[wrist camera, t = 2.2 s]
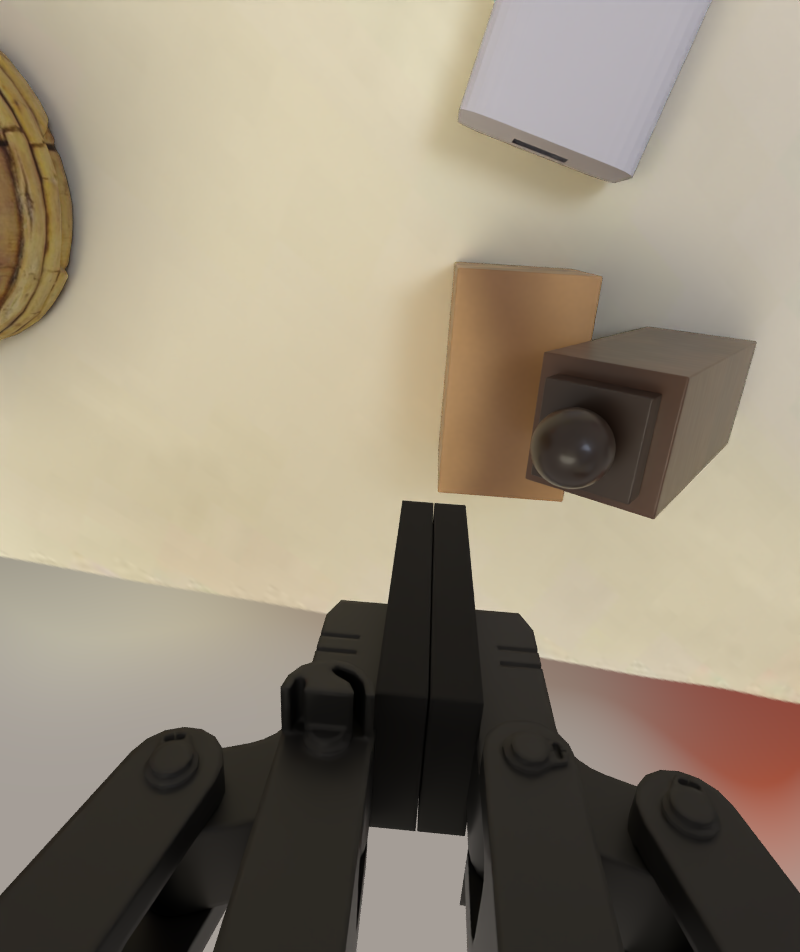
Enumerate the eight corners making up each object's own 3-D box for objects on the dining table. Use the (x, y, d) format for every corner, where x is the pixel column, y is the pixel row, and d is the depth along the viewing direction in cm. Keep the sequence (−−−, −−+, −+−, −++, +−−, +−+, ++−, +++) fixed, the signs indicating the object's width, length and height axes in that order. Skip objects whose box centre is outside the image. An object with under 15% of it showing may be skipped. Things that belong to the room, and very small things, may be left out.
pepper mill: (728, 331, 35) (954, 407, 20) (703, 426, 38) (887, 561, 22) (503, 316, 36) (549, 378, 20) (492, 411, 38) (525, 531, 23)
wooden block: (573, 269, 35) (603, 276, 28) (542, 458, 39) (562, 502, 33) (454, 261, 35) (457, 267, 28) (438, 450, 39) (437, 492, 33)
